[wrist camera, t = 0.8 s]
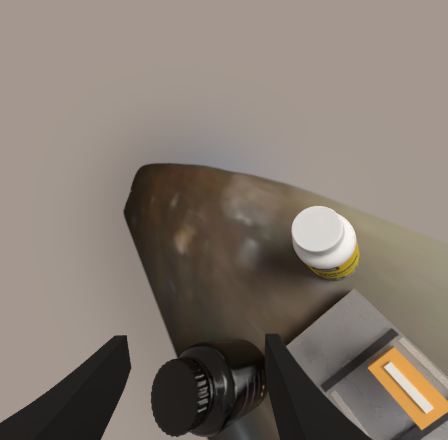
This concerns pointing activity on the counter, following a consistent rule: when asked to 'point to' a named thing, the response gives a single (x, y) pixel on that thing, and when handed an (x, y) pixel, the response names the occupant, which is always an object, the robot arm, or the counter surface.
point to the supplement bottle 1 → (208, 387)
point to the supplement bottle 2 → (325, 243)
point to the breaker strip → (364, 369)
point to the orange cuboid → (409, 387)
